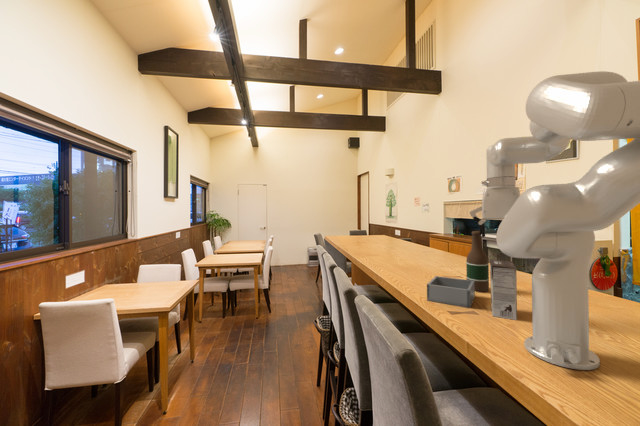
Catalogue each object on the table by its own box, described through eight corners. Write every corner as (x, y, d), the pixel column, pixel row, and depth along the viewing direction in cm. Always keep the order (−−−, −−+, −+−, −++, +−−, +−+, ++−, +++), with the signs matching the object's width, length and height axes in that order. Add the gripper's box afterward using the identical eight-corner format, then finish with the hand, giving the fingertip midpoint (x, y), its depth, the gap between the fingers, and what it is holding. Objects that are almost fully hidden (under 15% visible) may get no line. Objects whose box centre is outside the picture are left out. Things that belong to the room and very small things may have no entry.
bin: (470, 308, 88) (469, 290, 88) (427, 300, 96) (426, 284, 96) (474, 296, 99) (474, 280, 99) (435, 290, 107) (435, 276, 107)
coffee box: (490, 306, 89) (489, 259, 89) (513, 310, 86) (513, 260, 85) (491, 316, 81) (490, 264, 81) (517, 320, 78) (516, 266, 78)
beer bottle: (462, 288, 110) (461, 231, 109) (476, 285, 112) (475, 230, 112) (478, 293, 102) (477, 232, 102) (493, 291, 105) (492, 231, 104)
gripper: (468, 185, 85) (468, 237, 85) (537, 180, 75) (537, 240, 75) (470, 186, 91) (471, 235, 91) (535, 182, 81) (535, 237, 81)
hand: (501, 237), depth 83 cm, fingers open, 9 cm apart
